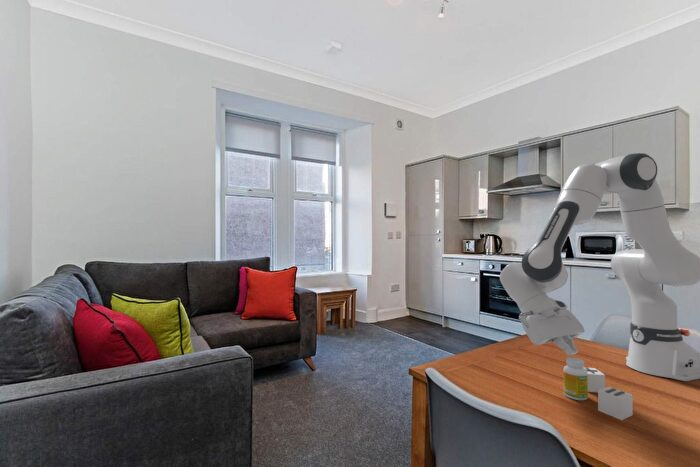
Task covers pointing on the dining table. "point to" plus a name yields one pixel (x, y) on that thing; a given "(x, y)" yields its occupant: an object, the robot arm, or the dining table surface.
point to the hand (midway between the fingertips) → (573, 353)
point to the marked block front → (615, 403)
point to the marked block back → (595, 380)
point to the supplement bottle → (575, 379)
